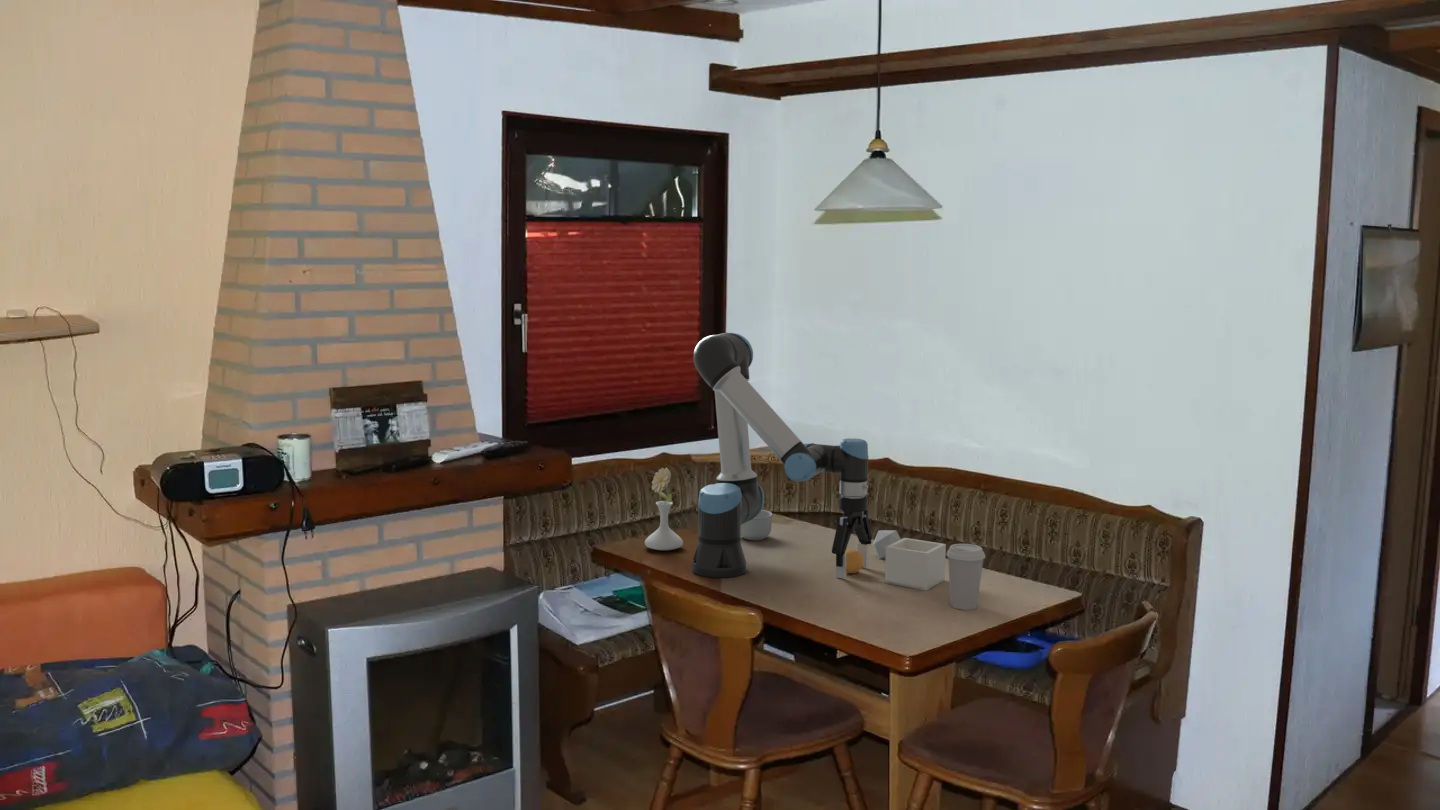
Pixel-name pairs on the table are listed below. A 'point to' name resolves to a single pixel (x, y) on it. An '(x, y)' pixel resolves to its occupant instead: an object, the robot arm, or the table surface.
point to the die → (884, 541)
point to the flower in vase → (663, 516)
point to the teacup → (757, 526)
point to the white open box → (915, 564)
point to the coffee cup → (965, 575)
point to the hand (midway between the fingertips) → (851, 572)
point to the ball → (853, 561)
